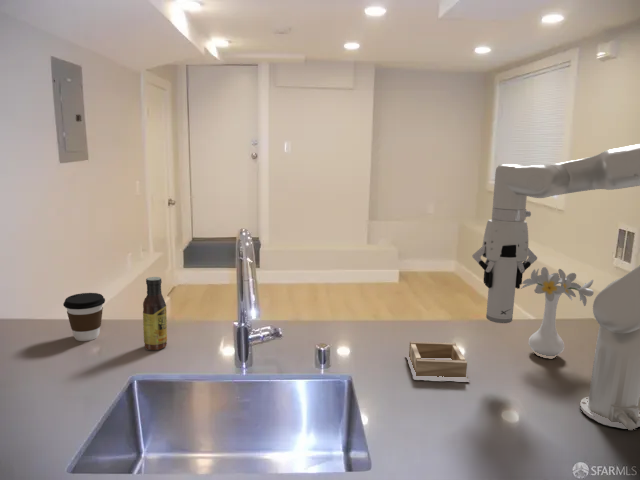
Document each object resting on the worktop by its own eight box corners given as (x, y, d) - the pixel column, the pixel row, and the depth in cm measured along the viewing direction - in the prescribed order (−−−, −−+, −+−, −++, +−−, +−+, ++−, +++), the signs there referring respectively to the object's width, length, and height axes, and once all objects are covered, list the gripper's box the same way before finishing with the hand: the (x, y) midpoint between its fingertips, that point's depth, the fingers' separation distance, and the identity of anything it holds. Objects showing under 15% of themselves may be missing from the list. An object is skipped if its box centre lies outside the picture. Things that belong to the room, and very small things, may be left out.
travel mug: (509, 325, 123) (516, 245, 119) (482, 319, 127) (488, 241, 123) (516, 319, 128) (524, 241, 124) (490, 313, 132) (497, 238, 128)
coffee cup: (57, 341, 144) (54, 301, 142) (85, 328, 154) (82, 290, 152) (89, 346, 141) (86, 305, 138) (115, 333, 151) (113, 294, 149)
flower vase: (590, 365, 138) (603, 277, 133) (523, 363, 138) (534, 275, 133) (567, 345, 151) (578, 264, 146) (506, 344, 151) (514, 263, 146)
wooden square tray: (469, 382, 126) (471, 364, 125) (413, 380, 126) (414, 362, 125) (456, 358, 140) (457, 341, 139) (405, 356, 140) (406, 340, 139)
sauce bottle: (163, 351, 139) (160, 282, 135) (140, 351, 139) (137, 281, 135) (170, 342, 145) (168, 275, 141) (149, 341, 146) (146, 275, 142)
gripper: (537, 214, 126) (531, 283, 129) (468, 212, 126) (463, 282, 130) (550, 218, 119) (543, 292, 122) (476, 217, 119) (471, 290, 122)
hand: (502, 286), depth 126 cm, fingers closed on travel mug, 6 cm apart
